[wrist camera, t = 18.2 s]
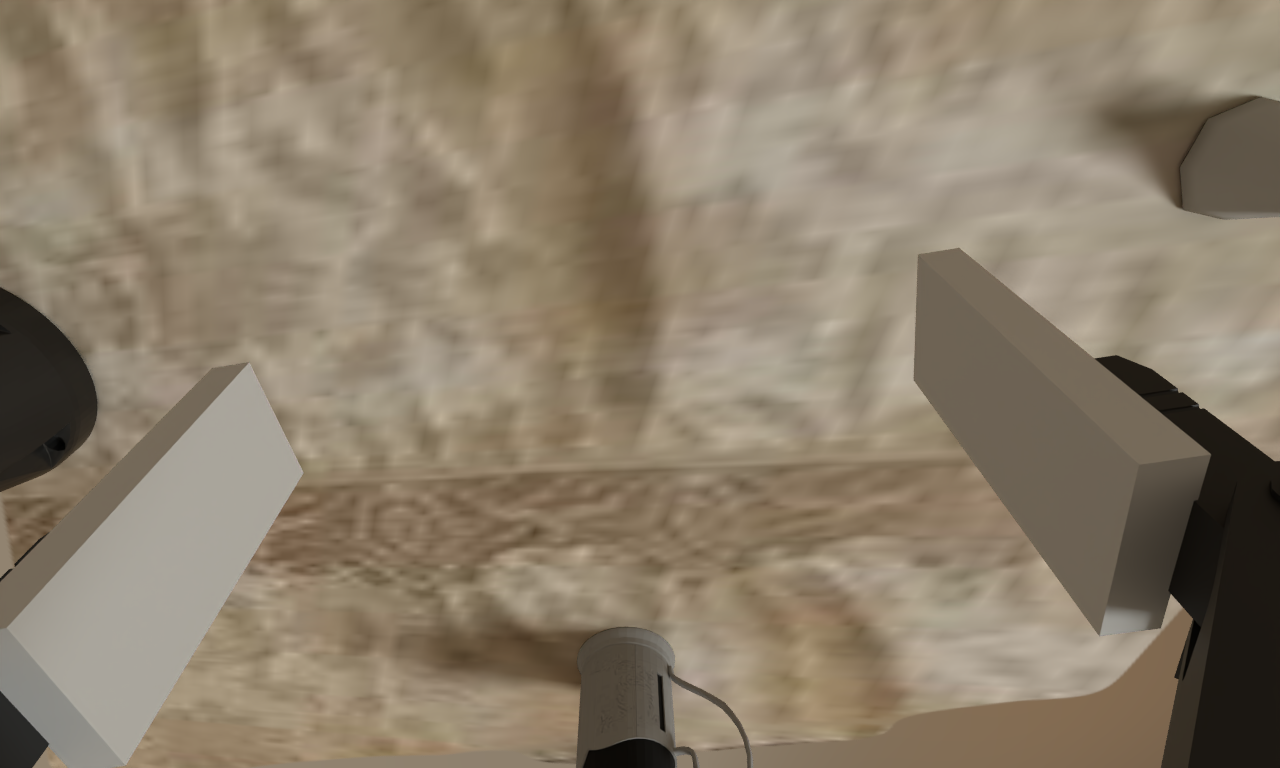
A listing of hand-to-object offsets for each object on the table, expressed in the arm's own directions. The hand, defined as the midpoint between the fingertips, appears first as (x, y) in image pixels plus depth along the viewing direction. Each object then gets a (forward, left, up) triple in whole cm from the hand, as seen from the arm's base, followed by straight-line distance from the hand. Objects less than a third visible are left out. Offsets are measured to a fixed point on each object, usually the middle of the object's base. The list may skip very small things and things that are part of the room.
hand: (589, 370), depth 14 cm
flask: (+37, -9, -32) cm, 49 cm away
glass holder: (-4, -46, -31) cm, 56 cm away
